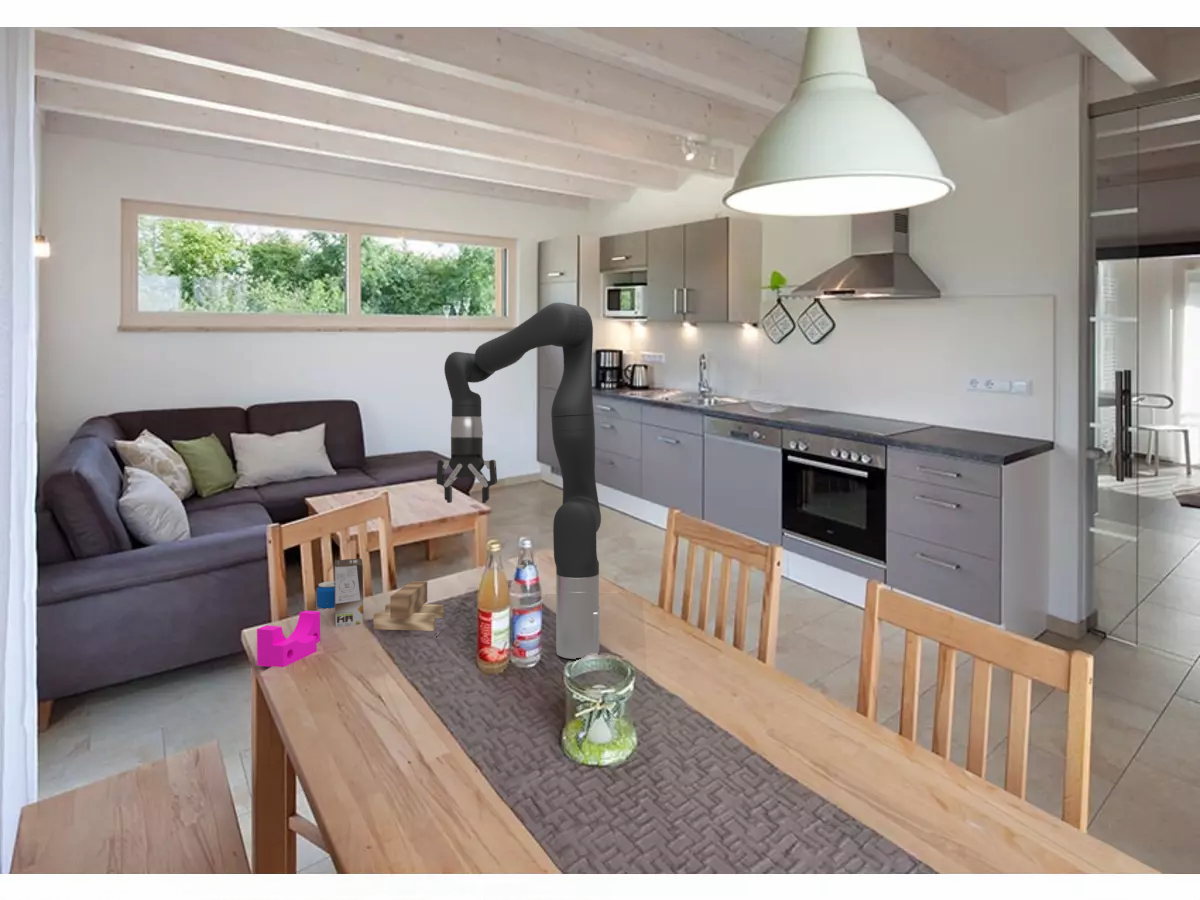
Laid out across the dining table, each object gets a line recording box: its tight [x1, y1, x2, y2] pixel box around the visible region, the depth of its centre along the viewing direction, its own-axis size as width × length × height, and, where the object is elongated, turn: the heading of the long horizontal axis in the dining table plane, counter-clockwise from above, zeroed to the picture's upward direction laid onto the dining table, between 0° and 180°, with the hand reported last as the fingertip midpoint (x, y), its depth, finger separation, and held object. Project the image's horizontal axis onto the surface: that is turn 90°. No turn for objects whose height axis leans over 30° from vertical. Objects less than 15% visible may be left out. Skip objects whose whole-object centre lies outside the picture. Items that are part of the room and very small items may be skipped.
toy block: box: [256, 610, 321, 668], centre depth 149 cm, size 15×6×8 cm, turn 165°
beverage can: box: [316, 580, 335, 609], centre depth 177 cm, size 6×6×12 cm
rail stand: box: [372, 603, 445, 636], centre depth 167 cm, size 16×13×5 cm
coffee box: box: [334, 558, 364, 628], centre depth 169 cm, size 9×6×16 cm
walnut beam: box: [389, 580, 428, 618], centre depth 167 cm, size 16×4×5 cm, turn 178°
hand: (467, 502), depth 170 cm, fingers open, 8 cm apart
